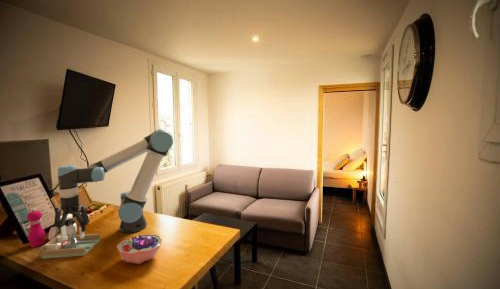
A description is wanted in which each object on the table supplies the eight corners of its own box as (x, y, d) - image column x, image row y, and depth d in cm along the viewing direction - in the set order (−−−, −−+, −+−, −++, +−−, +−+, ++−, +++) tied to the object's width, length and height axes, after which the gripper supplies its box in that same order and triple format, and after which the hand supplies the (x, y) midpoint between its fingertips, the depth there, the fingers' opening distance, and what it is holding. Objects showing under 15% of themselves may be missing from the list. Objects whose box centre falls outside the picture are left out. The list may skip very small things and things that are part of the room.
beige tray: (100, 240, 131) (99, 231, 130) (84, 255, 116) (83, 245, 115) (61, 242, 128) (60, 233, 128) (40, 258, 113) (39, 248, 113)
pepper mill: (35, 248, 123) (31, 211, 121) (24, 246, 124) (20, 210, 122) (49, 241, 130) (46, 206, 128) (39, 240, 131) (35, 205, 129)
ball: (58, 240, 122) (54, 246, 122) (53, 243, 119) (50, 249, 119) (65, 243, 123) (61, 249, 123) (60, 247, 119) (56, 252, 119)
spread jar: (79, 233, 139) (78, 214, 138) (60, 243, 128) (57, 222, 127) (64, 231, 142) (62, 212, 141) (43, 240, 131) (41, 220, 130)
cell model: (129, 249, 121) (128, 228, 119) (168, 249, 120) (167, 228, 119) (109, 270, 104) (107, 246, 103) (153, 271, 103) (152, 246, 102)
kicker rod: (80, 243, 124) (78, 217, 123) (75, 247, 120) (73, 220, 119) (66, 244, 123) (63, 218, 122) (61, 248, 119) (58, 221, 118)
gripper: (95, 192, 124) (98, 233, 126) (52, 194, 122) (56, 236, 124) (87, 197, 117) (91, 240, 119) (41, 199, 114) (46, 243, 116)
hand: (73, 238), depth 121 cm, fingers open, 8 cm apart
